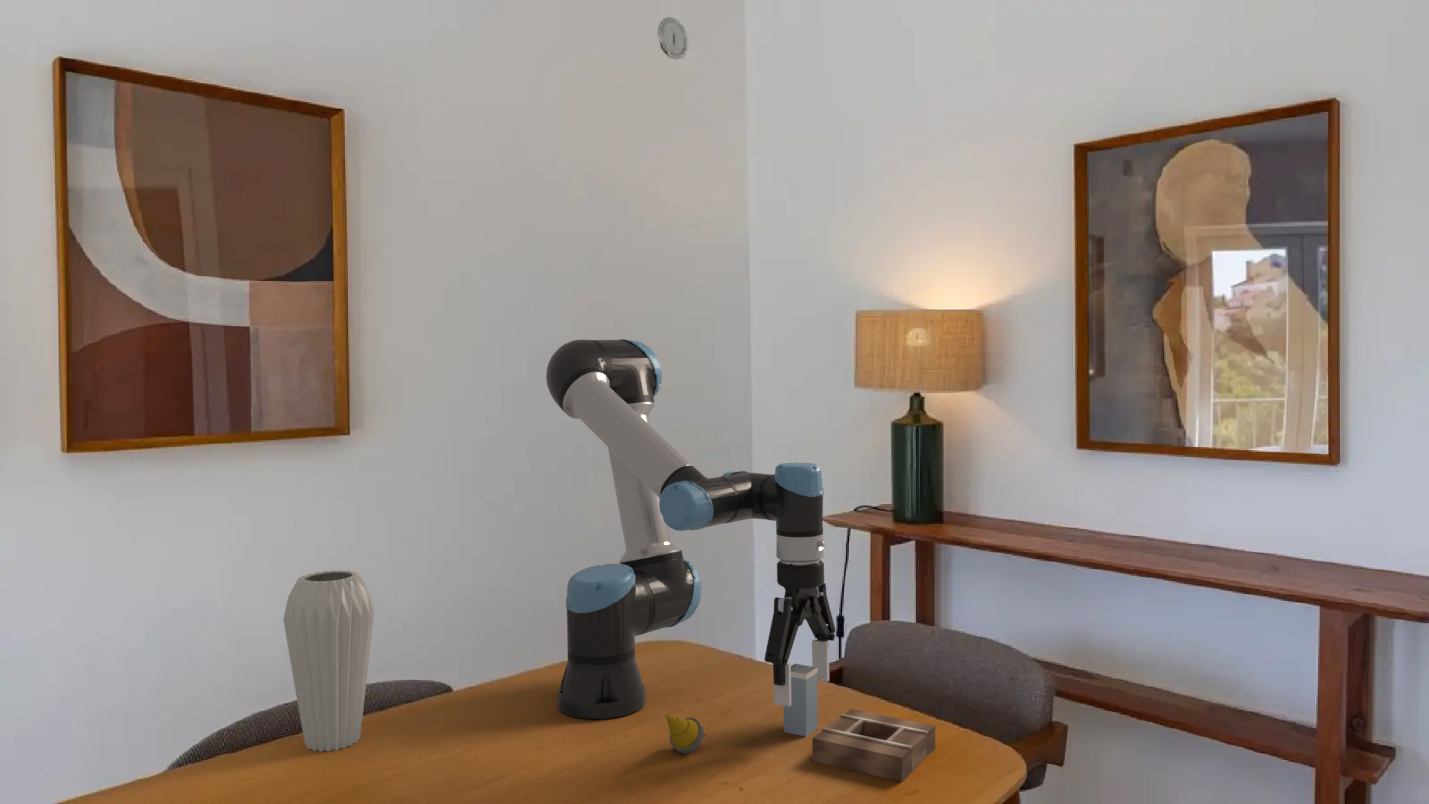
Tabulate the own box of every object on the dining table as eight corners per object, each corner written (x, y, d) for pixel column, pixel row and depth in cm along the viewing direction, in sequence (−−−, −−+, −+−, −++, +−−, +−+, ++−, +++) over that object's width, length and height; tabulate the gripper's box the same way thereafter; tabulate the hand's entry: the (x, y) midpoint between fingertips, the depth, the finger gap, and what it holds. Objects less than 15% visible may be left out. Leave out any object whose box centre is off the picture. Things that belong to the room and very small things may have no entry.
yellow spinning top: (714, 754, 150) (683, 724, 144) (683, 766, 151) (651, 737, 145) (709, 723, 154) (680, 693, 148) (679, 735, 155) (649, 706, 149)
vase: (395, 733, 158) (392, 571, 157) (331, 764, 146) (327, 589, 145) (334, 721, 164) (330, 564, 162) (267, 750, 152) (262, 581, 150)
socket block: (812, 761, 146) (812, 736, 146) (851, 730, 158) (850, 707, 158) (901, 782, 139) (901, 755, 138) (935, 748, 151) (935, 723, 150)
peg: (783, 732, 158) (783, 670, 157) (795, 723, 161) (795, 663, 161) (806, 737, 155) (806, 674, 155) (817, 728, 159) (817, 667, 158)
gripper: (784, 577, 144) (787, 720, 145) (853, 549, 166) (855, 673, 166) (740, 572, 148) (743, 711, 149) (813, 545, 169) (815, 667, 170)
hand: (802, 692), depth 158 cm, fingers open, 13 cm apart
